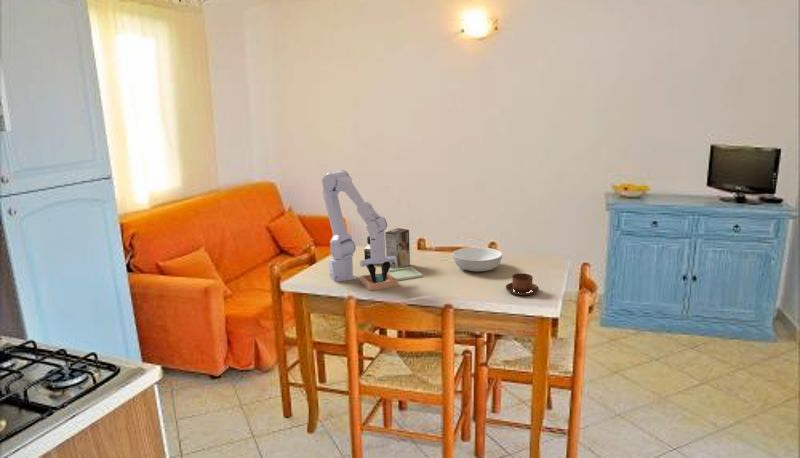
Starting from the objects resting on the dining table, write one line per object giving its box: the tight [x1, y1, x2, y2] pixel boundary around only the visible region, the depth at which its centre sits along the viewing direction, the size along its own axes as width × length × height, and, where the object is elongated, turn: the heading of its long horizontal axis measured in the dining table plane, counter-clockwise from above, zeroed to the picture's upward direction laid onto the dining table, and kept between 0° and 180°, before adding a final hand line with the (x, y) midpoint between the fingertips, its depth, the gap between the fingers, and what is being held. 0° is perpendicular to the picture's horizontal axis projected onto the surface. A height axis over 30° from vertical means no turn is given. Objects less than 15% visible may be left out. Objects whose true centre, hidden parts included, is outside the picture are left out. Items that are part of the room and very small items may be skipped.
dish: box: [359, 272, 399, 291], centre depth 217 cm, size 12×12×3 cm
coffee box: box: [385, 227, 411, 269], centre depth 238 cm, size 9×6×16 cm
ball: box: [375, 275, 383, 283], centre depth 217 cm, size 4×4×4 cm
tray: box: [388, 266, 424, 282], centre depth 227 cm, size 12×12×1 cm
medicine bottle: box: [364, 235, 371, 260], centre depth 246 cm, size 7×7×12 cm
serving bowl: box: [452, 246, 503, 273], centre depth 234 cm, size 21×21×7 cm
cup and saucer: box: [505, 273, 540, 296], centre depth 205 cm, size 12×12×6 cm
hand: (378, 281), depth 217 cm, fingers closed on ball, 4 cm apart
